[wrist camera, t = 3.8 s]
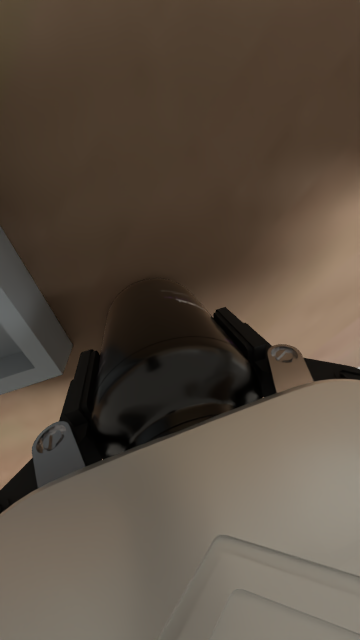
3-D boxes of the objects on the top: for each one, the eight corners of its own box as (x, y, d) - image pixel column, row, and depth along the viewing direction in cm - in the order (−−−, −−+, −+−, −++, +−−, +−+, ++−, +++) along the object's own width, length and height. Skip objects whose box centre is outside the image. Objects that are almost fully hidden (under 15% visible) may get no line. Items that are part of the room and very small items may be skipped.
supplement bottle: (201, 273, 14) (407, 429, 4) (194, 352, 17) (299, 550, 7) (98, 276, 13) (4, 553, 2) (111, 362, 16) (94, 639, 6)
